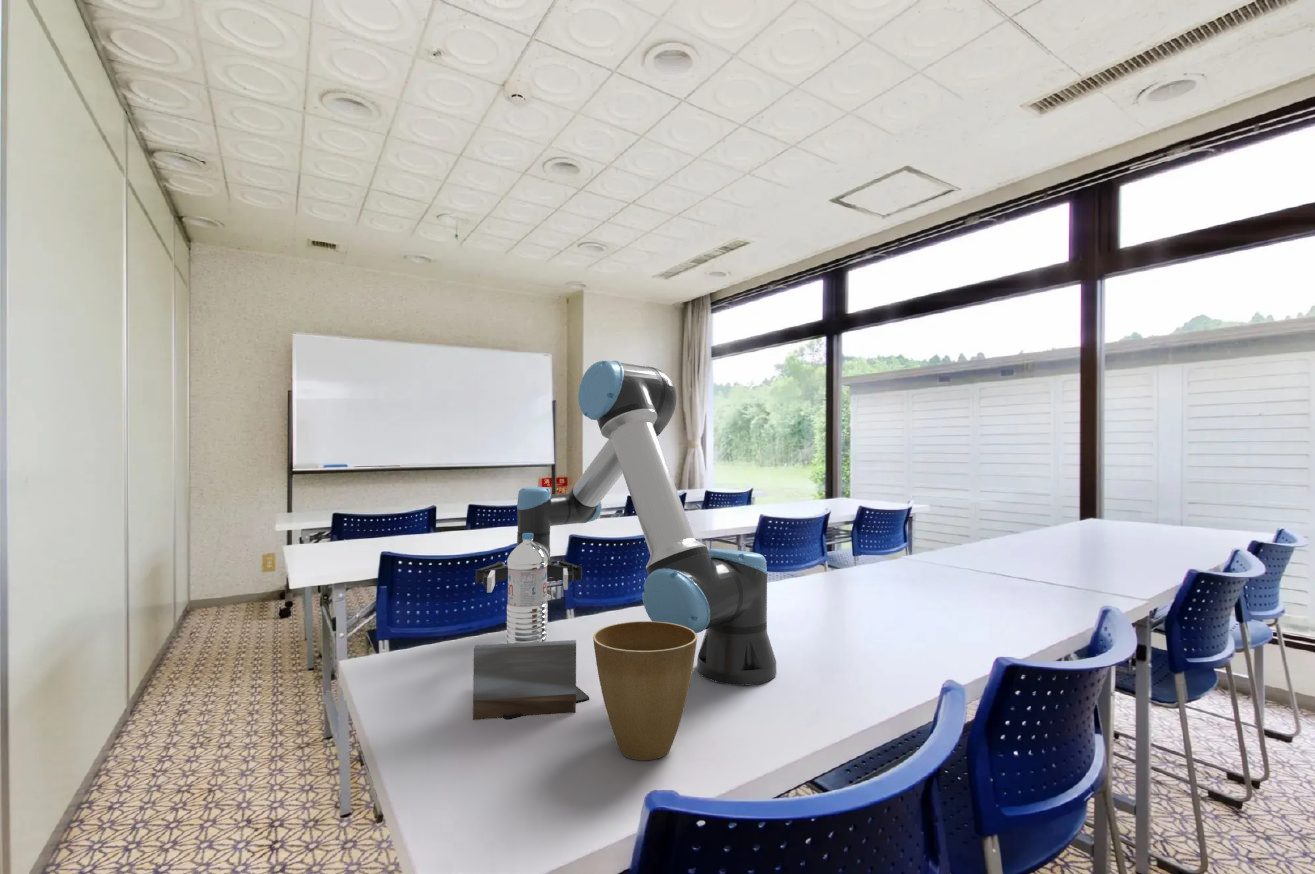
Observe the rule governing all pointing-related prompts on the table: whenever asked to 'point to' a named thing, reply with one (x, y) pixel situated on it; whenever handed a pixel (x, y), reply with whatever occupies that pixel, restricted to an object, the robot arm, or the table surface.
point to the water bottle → (527, 593)
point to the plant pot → (645, 683)
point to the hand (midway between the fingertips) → (528, 583)
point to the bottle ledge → (524, 679)
